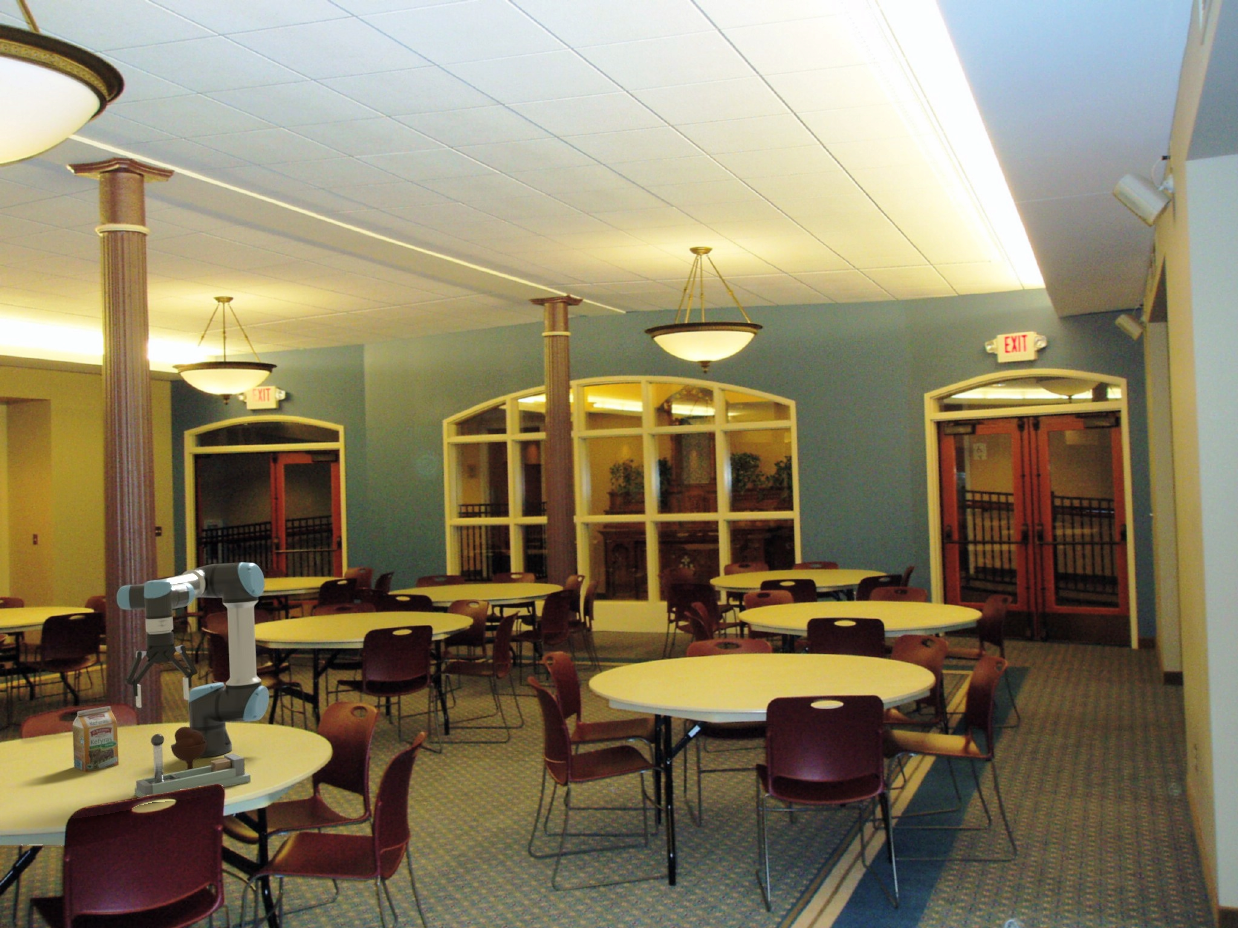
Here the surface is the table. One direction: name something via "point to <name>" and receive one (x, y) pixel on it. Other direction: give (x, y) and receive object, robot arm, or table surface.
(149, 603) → the robot arm
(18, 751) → the table surface
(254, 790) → the table surface
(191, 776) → the grey slotted track
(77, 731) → the milk carton
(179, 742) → the ice cream bowl
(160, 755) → the lever
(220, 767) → the walnut block
